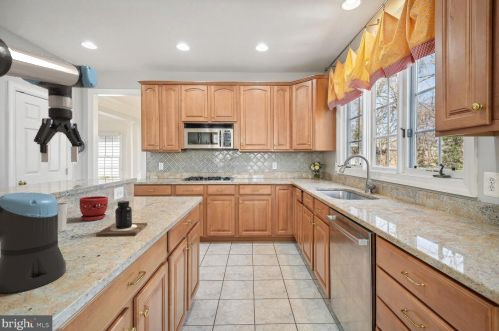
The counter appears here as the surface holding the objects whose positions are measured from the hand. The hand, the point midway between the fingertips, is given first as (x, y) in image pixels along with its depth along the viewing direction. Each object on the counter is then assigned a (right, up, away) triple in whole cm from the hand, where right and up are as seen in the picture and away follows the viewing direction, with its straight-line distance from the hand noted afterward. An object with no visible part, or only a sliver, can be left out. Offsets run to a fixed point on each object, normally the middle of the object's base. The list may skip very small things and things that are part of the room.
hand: (61, 162), depth 95 cm
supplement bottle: (+17, -30, +15) cm, 38 cm away
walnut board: (+17, -32, +15) cm, 39 cm away
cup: (-14, -31, +15) cm, 38 cm away
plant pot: (-10, -31, +36) cm, 48 cm away
